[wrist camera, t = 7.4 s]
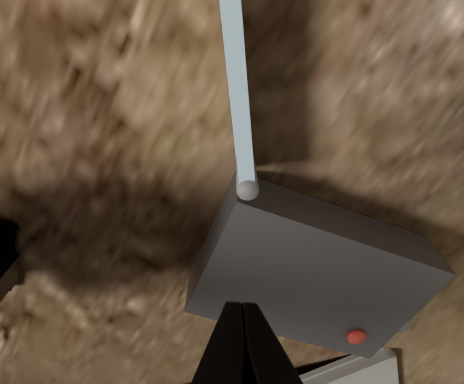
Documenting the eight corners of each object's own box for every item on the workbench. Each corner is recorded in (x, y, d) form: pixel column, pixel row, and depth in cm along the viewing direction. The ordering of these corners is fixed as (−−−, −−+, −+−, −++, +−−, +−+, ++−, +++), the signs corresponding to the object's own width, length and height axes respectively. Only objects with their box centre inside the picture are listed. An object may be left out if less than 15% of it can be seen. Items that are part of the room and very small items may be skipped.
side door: (255, 166, 20) (259, 199, 17) (236, 168, 20) (237, 201, 17) (239, -38, 14) (241, -46, 11) (214, -35, 15) (210, -42, 11)
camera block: (190, 272, 24) (183, 315, 21) (235, 170, 20) (237, 205, 17) (363, 320, 27) (380, 365, 24) (435, 240, 23) (470, 281, 19)
